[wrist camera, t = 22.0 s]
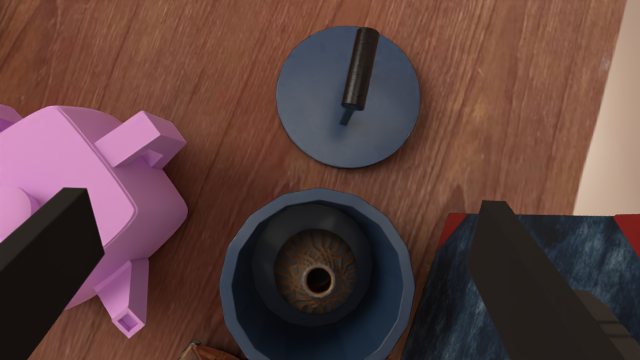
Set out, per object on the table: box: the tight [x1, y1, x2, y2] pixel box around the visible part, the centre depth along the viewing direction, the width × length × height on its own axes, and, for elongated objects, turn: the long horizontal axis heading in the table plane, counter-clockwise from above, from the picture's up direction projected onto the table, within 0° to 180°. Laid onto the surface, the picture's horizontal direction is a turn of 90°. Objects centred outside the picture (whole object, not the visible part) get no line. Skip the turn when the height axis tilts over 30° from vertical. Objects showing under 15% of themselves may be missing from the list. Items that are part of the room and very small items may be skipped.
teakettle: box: [0, 104, 188, 338], centre depth 31 cm, size 17×17×12 cm
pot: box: [219, 188, 415, 360], centre depth 32 cm, size 13×13×12 cm
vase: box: [274, 229, 358, 315], centre depth 33 cm, size 7×7×9 cm
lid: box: [276, 26, 420, 169], centre depth 35 cm, size 14×14×9 cm
